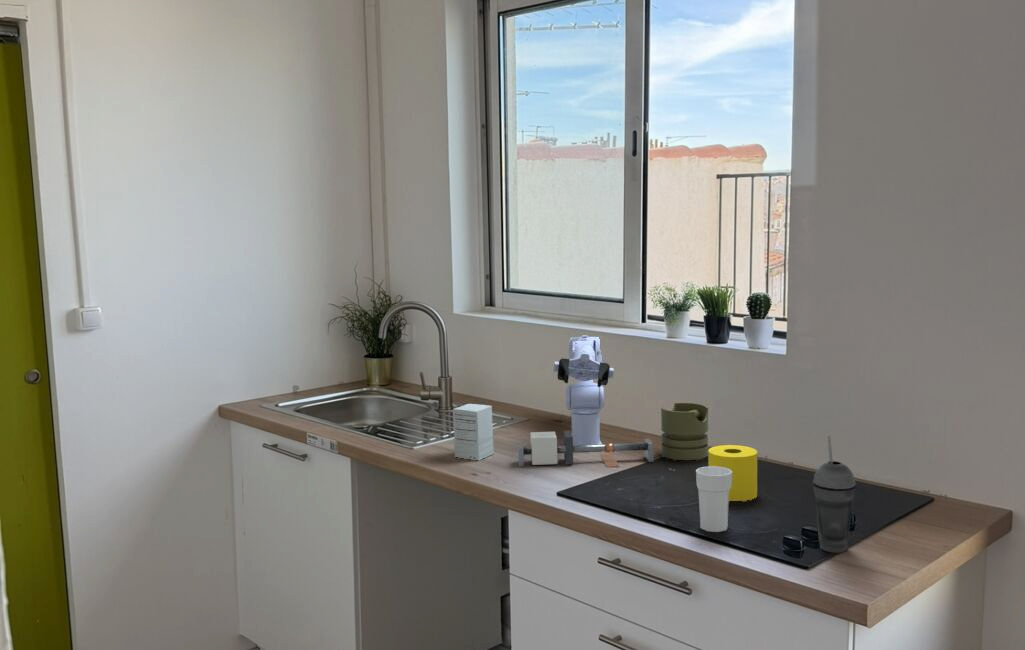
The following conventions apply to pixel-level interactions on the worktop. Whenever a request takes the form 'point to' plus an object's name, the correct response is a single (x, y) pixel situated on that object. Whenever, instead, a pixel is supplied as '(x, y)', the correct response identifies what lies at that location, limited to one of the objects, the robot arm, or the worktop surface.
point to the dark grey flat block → (568, 447)
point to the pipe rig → (606, 447)
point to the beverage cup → (833, 503)
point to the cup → (713, 497)
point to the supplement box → (473, 431)
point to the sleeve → (543, 448)
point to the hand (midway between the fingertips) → (583, 381)
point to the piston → (685, 431)
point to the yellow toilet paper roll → (737, 469)
